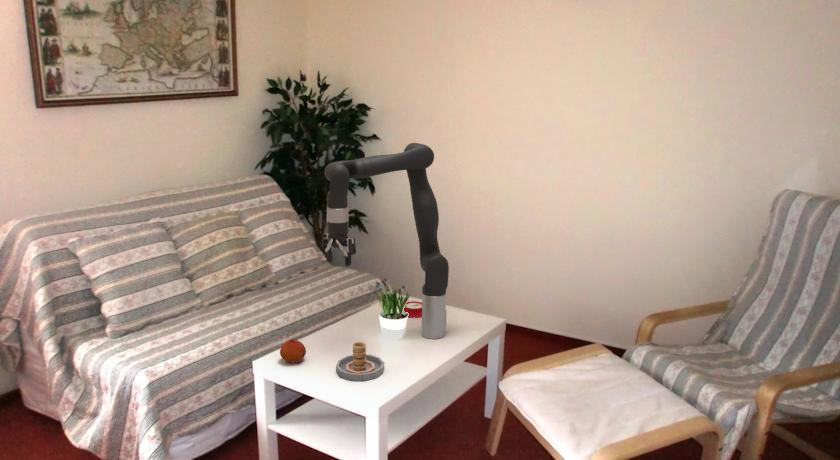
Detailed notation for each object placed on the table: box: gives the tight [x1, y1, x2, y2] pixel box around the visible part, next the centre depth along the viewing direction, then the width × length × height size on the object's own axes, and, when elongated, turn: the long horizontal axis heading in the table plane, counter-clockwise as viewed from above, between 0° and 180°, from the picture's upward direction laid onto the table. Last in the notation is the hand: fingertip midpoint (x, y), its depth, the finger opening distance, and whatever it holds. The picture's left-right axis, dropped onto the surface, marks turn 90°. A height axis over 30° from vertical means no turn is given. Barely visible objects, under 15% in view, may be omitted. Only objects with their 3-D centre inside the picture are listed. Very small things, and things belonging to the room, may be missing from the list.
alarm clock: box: [404, 300, 422, 319], centre depth 278 cm, size 10×6×15 cm
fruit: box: [279, 338, 307, 364], centre depth 231 cm, size 9×9×8 cm
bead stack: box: [352, 341, 367, 372], centre depth 224 cm, size 4×4×9 cm
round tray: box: [335, 353, 385, 382], centre depth 225 cm, size 16×16×2 cm
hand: (338, 263), depth 234 cm, fingers open, 8 cm apart
